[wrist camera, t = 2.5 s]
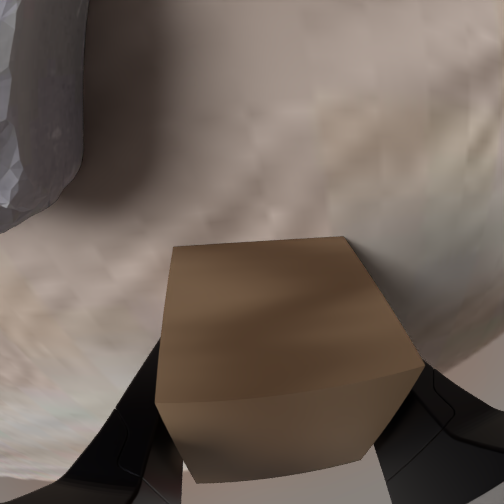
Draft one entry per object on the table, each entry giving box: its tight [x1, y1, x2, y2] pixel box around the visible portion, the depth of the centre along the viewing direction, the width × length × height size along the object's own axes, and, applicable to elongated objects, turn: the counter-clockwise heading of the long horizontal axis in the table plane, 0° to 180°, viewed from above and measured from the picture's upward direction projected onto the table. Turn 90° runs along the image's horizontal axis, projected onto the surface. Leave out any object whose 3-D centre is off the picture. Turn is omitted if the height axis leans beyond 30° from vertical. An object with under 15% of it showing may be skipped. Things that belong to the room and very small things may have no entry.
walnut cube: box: [155, 237, 425, 484], centre depth 8 cm, size 5×5×5 cm
